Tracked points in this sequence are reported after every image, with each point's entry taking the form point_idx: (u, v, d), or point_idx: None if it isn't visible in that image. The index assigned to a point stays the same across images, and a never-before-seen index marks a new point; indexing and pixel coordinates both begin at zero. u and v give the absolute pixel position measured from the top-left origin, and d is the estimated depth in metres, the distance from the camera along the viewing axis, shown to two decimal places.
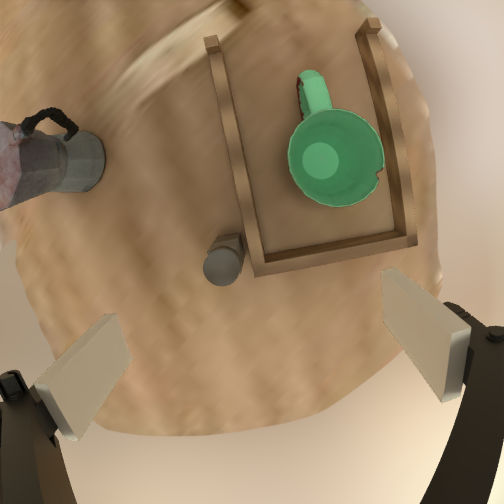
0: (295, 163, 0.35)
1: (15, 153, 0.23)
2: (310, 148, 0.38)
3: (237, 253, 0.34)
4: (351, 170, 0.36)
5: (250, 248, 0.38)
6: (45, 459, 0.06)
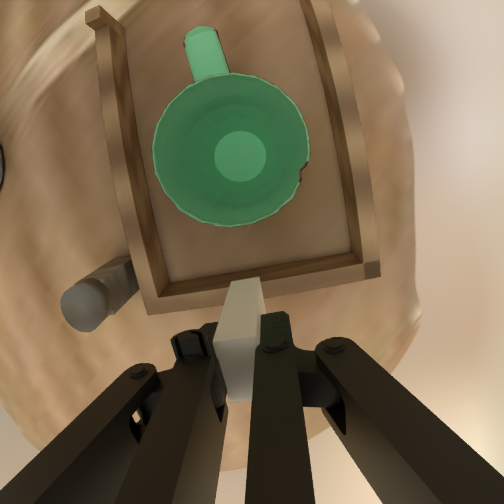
0: (191, 161, 0.25)
1: None
2: (225, 139, 0.28)
3: (105, 289, 0.23)
4: (277, 168, 0.25)
5: (138, 278, 0.27)
6: (201, 442, 0.07)
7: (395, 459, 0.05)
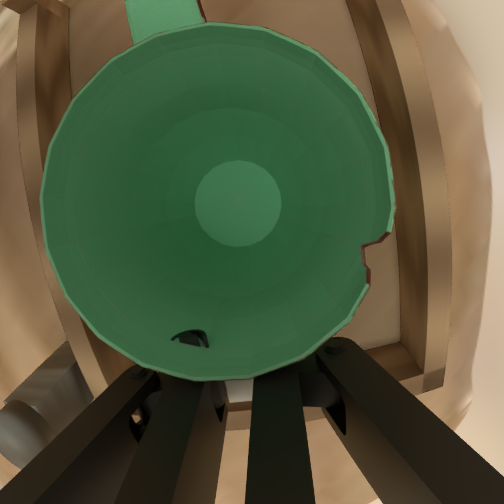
0: (148, 215, 0.14)
1: None
2: (213, 175, 0.17)
3: (40, 420, 0.12)
4: (302, 228, 0.14)
5: (92, 388, 0.16)
6: (200, 442, 0.07)
7: (395, 459, 0.05)
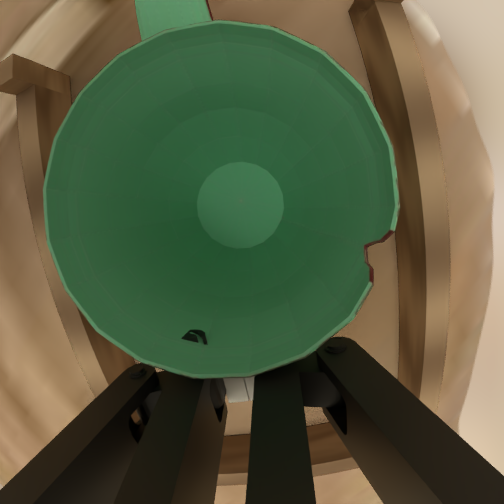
0: (150, 213, 0.14)
1: None
2: (216, 176, 0.17)
3: None
4: (304, 229, 0.14)
5: None
6: (200, 442, 0.07)
7: (396, 459, 0.05)
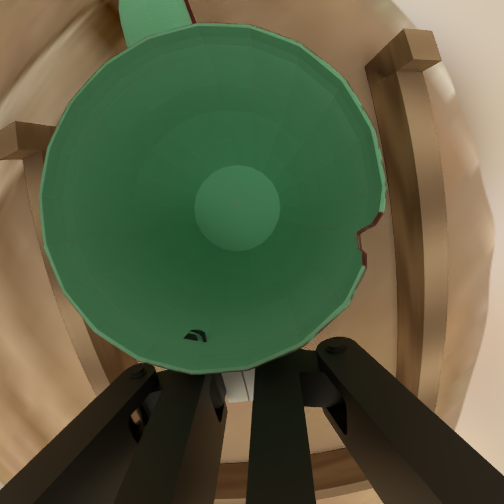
0: (147, 219, 0.14)
1: None
2: (211, 181, 0.17)
3: None
4: (301, 227, 0.14)
5: None
6: (200, 442, 0.07)
7: (395, 459, 0.05)
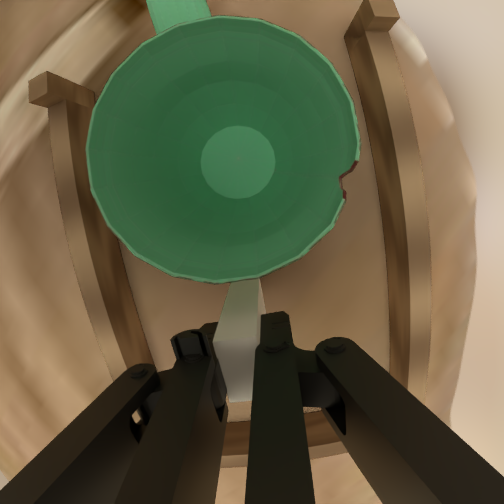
0: (164, 170, 0.16)
1: None
2: (216, 139, 0.19)
3: None
4: (293, 176, 0.17)
5: None
6: (201, 442, 0.07)
7: (395, 459, 0.05)
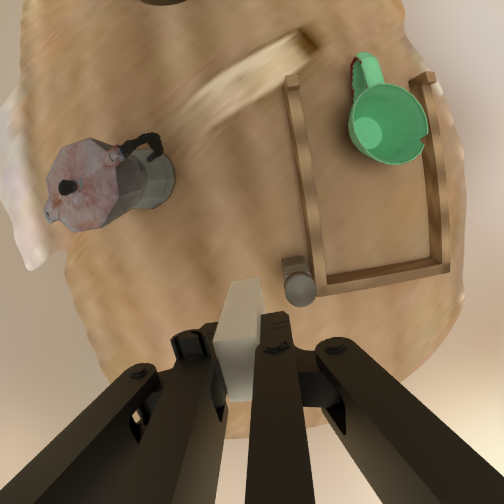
0: None
1: (111, 175, 0.27)
2: (358, 121, 0.41)
3: (312, 278, 0.38)
4: (395, 140, 0.39)
5: (316, 272, 0.42)
6: (200, 442, 0.07)
7: (395, 459, 0.05)
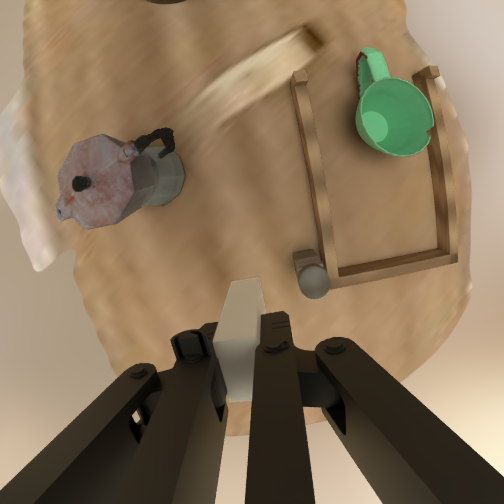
0: (357, 125, 0.38)
1: (126, 170, 0.27)
2: (364, 116, 0.41)
3: (325, 270, 0.38)
4: (401, 133, 0.39)
5: (327, 264, 0.43)
6: (200, 442, 0.07)
7: (395, 459, 0.05)
